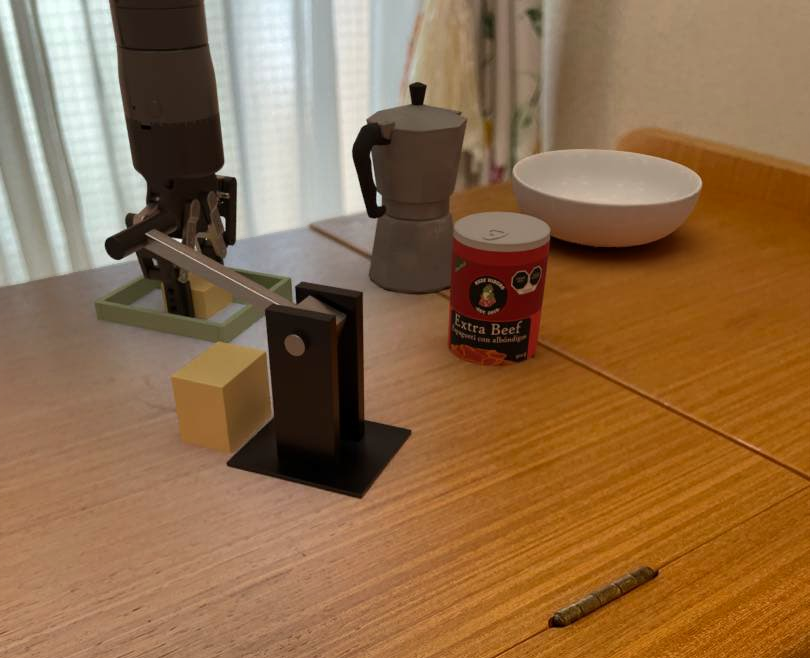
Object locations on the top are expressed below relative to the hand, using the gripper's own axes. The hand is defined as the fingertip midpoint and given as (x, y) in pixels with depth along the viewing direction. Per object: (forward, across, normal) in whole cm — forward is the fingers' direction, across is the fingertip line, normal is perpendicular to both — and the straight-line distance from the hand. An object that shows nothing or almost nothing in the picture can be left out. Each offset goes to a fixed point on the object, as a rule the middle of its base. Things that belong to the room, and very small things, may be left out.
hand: (199, 307), depth 80 cm
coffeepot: (+1, -16, +14) cm, 22 cm away
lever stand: (+1, +18, +21) cm, 28 cm away
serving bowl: (+1, -38, +29) cm, 48 cm away
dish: (+1, 0, 0) cm, 1 cm away
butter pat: (0, 0, 0) cm, 0 cm away
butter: (+1, +18, +14) cm, 23 cm away
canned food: (+1, -3, +27) cm, 28 cm away
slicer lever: (-10, +18, +15) cm, 26 cm away
